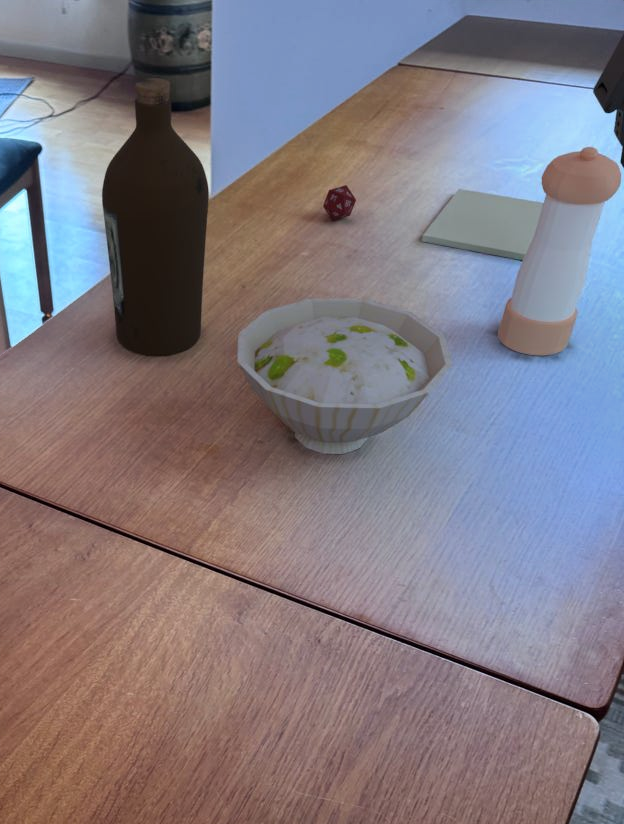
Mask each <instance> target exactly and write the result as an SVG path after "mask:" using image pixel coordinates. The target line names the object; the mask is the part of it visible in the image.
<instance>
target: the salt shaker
mask: <svg viewBox="0 0 624 824" xmlns="http://www.w3.org/2000/svg"><path fill="white" fill-rule="evenodd" d="M621 183H622V172H621V169H620V166H619V165H618V162H616V161H615V160H613V159H611V158H610V157H608V156H606V155H605V154H602V153H599V152H598V149H597V148H595V147H593V146H586V147H583V148H582V149H581V150H579V151H578V150H577V151H572V152H567V153H564V154H561V155H558V156H556V157H555V158H553V159H552V160H551V162H549V163H548V164H547V165H546V167H545V169H544V171H543V173H542V175H541V187H542V191H543V192H544V194H545V197H544V200H543V202H542V203H543V207H542V210H541V214H540V217H539V221H538V224H537V227H536V231H535V234H534V237H533V239H532V241H531V244H530V246H529V248H528V250H527V253H526V255H525V257H524V259H523V260H521V261H522V262H521V264H520V266H519V268H518V271H517V274H516V278H515V283H514V287H513V290H512V294H511V297H509V298H508V299H507V301H506V304H505V306H504V310H503V313H502V317H501V320H500V324H499V328H498V331H497V336H498V340H499V341H500V343H501V344H503V345H504V346H505V347H506V348H508V349H510V350H512V351H515V352H517V353H521V354H525V355H530V356H550V355H555V354H559V353H561V352H563V351H564V350H565V349H566V348H567V347H568V345H569V342H570V339H571V336H572V333H573V330H574V327H575V324H576V321H577V318H578V314H579V312H578V308H577V306H578V303H579V300H580V297H581V295H582V292H583V290H584V287H585V284H586V281H587V276H588V269H589V264H590V257H591V253H592V252H591V251H592V244H593V240H594V238H595V235H596V232H597V228H598V225H599V222H600V219H601V215H602V212H603V209H604V207H605V203H606V202H608V201H609V200H610V199H611V198H613V197H614V195H616V193H617V192H618V191H619V189H620V187H621Z"/></svg>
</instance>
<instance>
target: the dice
mask: <svg viewBox="0 0 624 824" xmlns="http://www.w3.org/2000/svg"><path fill="white" fill-rule="evenodd" d="M356 202H357V198H356V197H355V196H354V195H353V193H352V191H351V189H350V188H349V186H348V185H347V184H345V185H341V186H338V187H335V188H332V189H329V190H328V192H327V195H326V197H325V199H324V202H323V205H322V207H323V210H325V212H326V213H327V215H328V216H329V218H330V220H331V221H332V222H334V221H337V220H341V219H344V218H348V217H350V216H351V214H352V211H353V209H354V207H355V204H356Z"/></svg>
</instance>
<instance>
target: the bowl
mask: <svg viewBox="0 0 624 824" xmlns="http://www.w3.org/2000/svg"><path fill="white" fill-rule="evenodd" d="M237 334H238V335H237V364H238V366H239V368H240V370H241V373H242V374H243V376H244V378H245V380H246V382H247V384H248V386H249V388H250V390H251V391H252V392H253V393H254V394H255V395H256V396H257V397H258V398H259V399H260V401H262V402H263V404H265V406H267V407H268V408H269V410H271V412H272V413H273V414H274V415H275V416H276V417H278V418H279V420H280V421H281V422H283V423H284V424H285V425H286V426H287V428H288V429H290V430H291V432H294V438H295V439H296V440H297V441H298V442H299V443H300V444H301V445H302V446H303V447H304V448H305V449H308V450H312V451H314V452H317V453H320V454H325V455H328V454H329V455H344V454H347V453H350V452H353V451H356V450H359V449H360V448H361V447H362V446H363V445H364V444H365V443H366V442H367V441H368V439H369V438H370V437H373V436H376V435H379V434H382V433H383V432H385V431H387V430H388V429H390V428H391V427H394V426H395V425H397V424H398V423H400V422H402V421H403V420H405V419H406V418H409V417H410V416H411V415H412V414H413V412H414V411H415V410H416V409H417V408H418V407H419V406H420V404H421V403H422V402H423V401H424V400H425V399H426V398H427V396H428V395H429V394H430V393H431V392H432V390H433V389H434V388H435V387H436V386H437V385H438V384H439V382H440V381H441V380H442V379H443V378H444V376H445V375H446V374H447V373H448V372H449V371H450V369H451V368H452V367H453V366H454V364H453V361H452V357H451V353H450V349H449V345H448V342H447V338H446V335H444V334H443V333H442V332H440V331H439V330H437V329H436V328H435V327H434V326H432V325H430V324H429V323H428V322H426V321H425V320H424V319H422V318H421V317H419V316H418V315H416V314H415V313H414V312H412V311H409V310H406V309H401V308H398V307H395V306H390V305H387V304H384V303H380V302H376V301H372V300H368V299H365V298H319V297H318V298H314V297H311V298H306V299H303V300H300V301H299V300H298V301H296V302H292V303H288V304H285V305H282V306H278V307H274V308H270V309H268V310H264V311H263V312H262V313H261V314H259V315H258V316H257V317H256V318H255V319H254V320H252V322H249V324H247V326H245V327H244V328H243V329H242V330H241V331H239V333H237Z"/></svg>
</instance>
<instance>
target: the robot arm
mask: <svg viewBox="0 0 624 824" xmlns="http://www.w3.org/2000/svg"><path fill="white" fill-rule="evenodd" d="M592 92H593V95H594V97H595V98H596V100H597V102H598V103H599V105H600V107H601V109H602V110H603V112H604V114H613V113H614V112H615V111H616V112H615V120H614V127H613V133H614V135H615V138H616V139H617V141H618V142H619V145H621V156H620V161H619V163H620V164H621V166H622V168H623V169H624V33H623V35H622V36H621V37H620V39H619V42H618V43H617V45H616V47H615V49H614V50H613V53H612V54H611V56H610V58H609V59H608V62H607V64H606V65H605V67H604V69H603V71H602V72H601V74H600V76H599V78H598V80H597V81H596V83H595V84H594V87H593V89H592Z"/></svg>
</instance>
